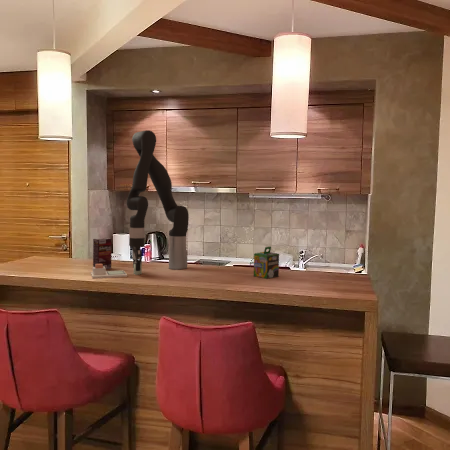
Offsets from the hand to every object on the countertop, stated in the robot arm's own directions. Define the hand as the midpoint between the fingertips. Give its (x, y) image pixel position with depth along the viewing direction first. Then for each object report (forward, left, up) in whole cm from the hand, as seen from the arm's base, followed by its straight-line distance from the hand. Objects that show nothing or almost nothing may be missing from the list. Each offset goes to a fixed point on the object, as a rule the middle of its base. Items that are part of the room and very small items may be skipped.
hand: (136, 269), depth 238 cm
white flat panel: (+14, 0, -2) cm, 14 cm away
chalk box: (-59, +23, -3) cm, 64 cm away
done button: (+18, 0, +1) cm, 18 cm away
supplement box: (+15, -19, -3) cm, 24 cm away
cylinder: (-1, 0, -2) cm, 2 cm away
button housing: (+18, 0, -2) cm, 18 cm away
